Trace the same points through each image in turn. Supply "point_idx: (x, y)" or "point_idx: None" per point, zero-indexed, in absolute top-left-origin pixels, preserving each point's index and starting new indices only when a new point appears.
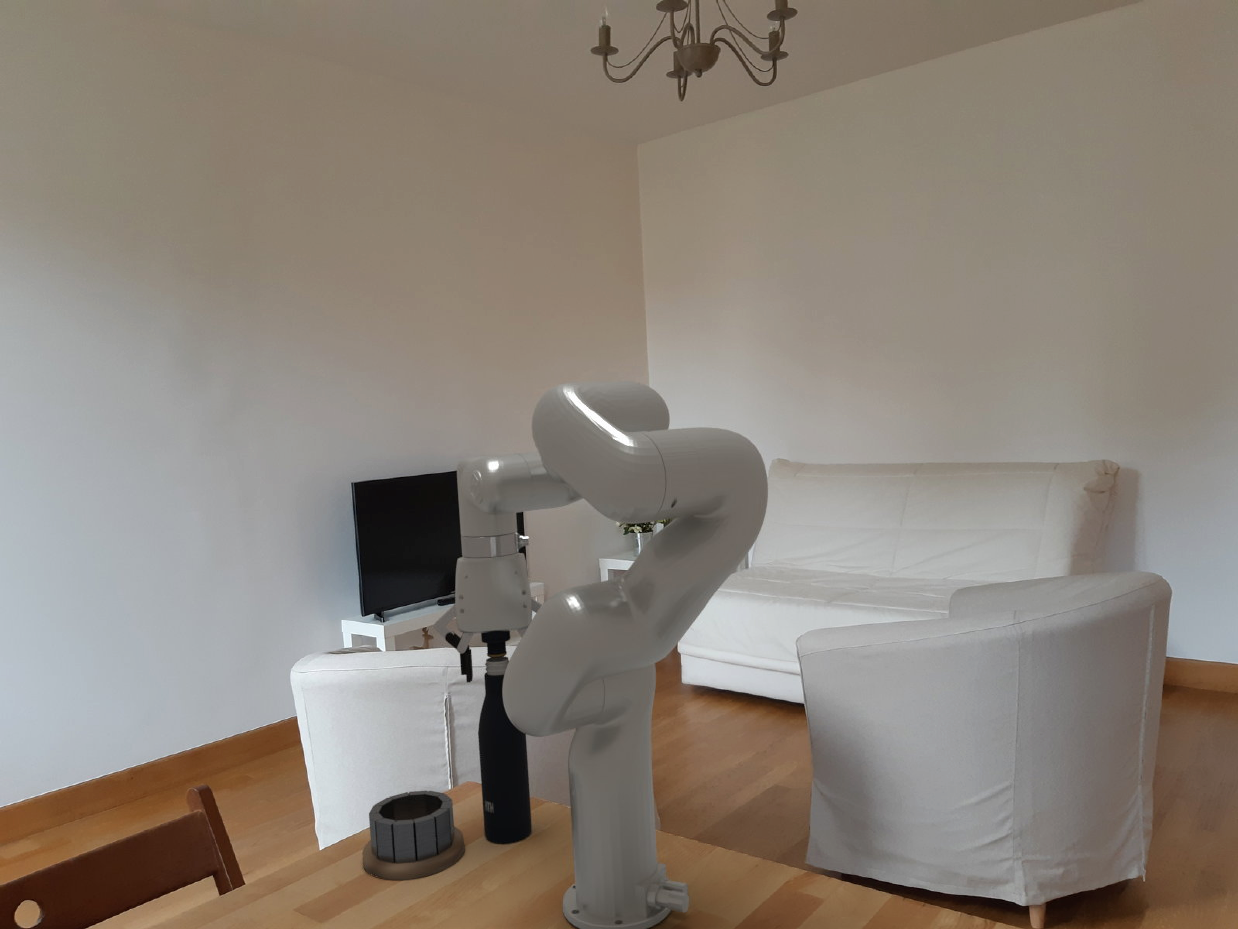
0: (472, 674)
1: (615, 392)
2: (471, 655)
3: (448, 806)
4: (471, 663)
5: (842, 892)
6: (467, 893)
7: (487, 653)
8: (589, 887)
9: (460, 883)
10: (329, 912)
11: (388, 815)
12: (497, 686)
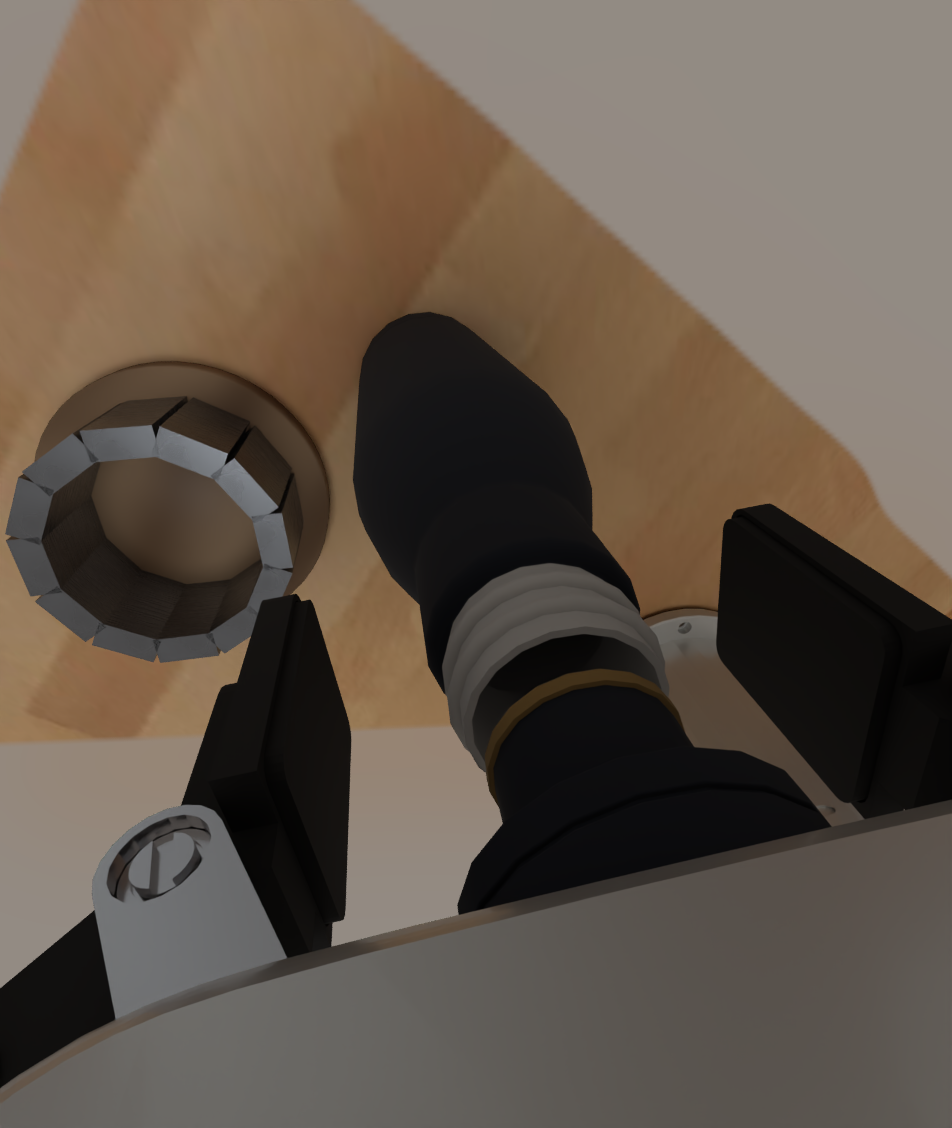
0: (319, 641)
1: None
2: (294, 721)
3: (285, 556)
4: (321, 744)
5: None
6: (389, 653)
7: (493, 786)
8: None
9: (363, 619)
10: (120, 719)
11: (66, 503)
12: (521, 682)
